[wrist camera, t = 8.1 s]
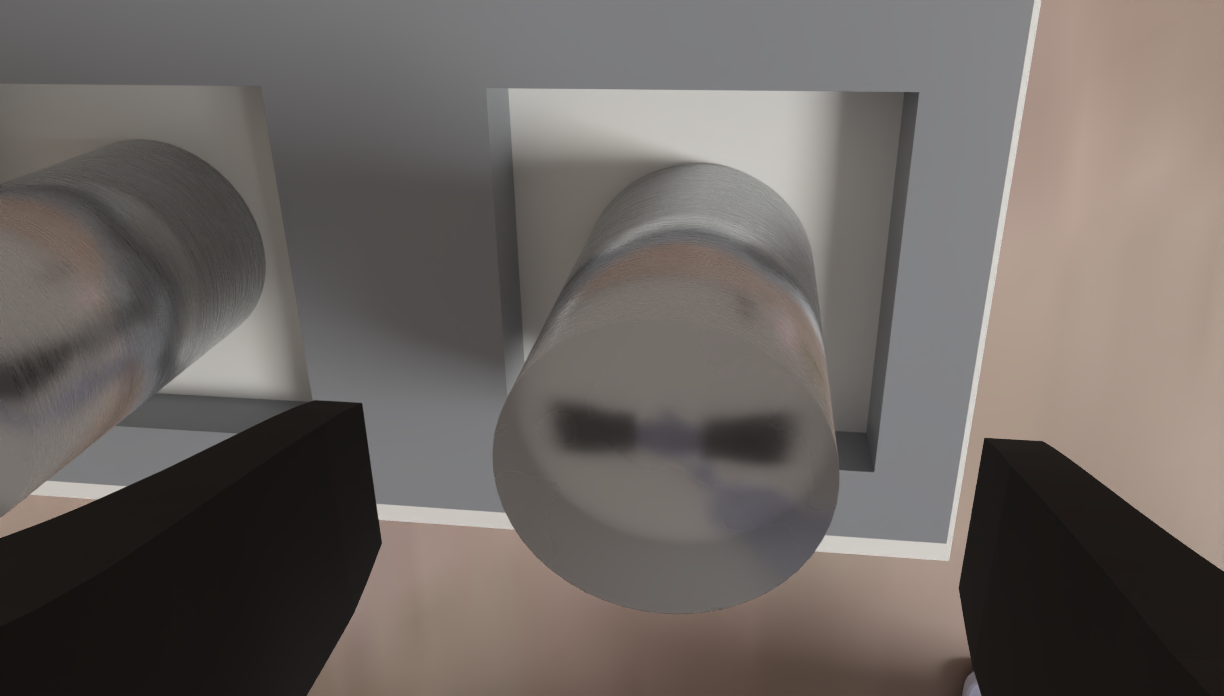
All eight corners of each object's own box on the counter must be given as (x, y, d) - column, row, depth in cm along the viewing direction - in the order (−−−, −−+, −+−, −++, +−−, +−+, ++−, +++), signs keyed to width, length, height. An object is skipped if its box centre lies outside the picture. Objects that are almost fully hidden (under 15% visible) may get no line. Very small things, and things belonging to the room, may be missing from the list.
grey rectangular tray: (1043, -120, 16) (1092, -124, 13) (940, 533, 21) (962, 607, 19) (-139, -97, 19) (-263, -98, 16) (39, 471, 24) (-36, 529, 22)
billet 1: (244, 141, 18) (-22, 261, 12) (281, 347, 20) (66, 543, 14) (39, 137, 19) (-318, 250, 13) (92, 337, 21) (-196, 523, 15)
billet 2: (834, 178, 17) (873, 347, 11) (793, 391, 19) (806, 637, 13) (593, 149, 17) (497, 295, 11) (577, 361, 19) (488, 585, 13)
